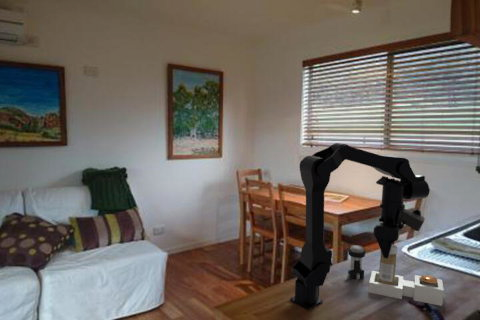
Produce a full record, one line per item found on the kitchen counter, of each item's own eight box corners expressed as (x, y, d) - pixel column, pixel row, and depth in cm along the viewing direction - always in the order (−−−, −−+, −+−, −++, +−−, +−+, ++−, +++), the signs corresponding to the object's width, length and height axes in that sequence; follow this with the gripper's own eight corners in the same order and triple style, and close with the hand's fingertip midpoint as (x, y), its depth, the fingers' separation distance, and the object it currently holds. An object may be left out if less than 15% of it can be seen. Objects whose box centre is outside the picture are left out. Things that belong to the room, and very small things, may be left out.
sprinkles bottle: (396, 289, 109) (400, 245, 107) (390, 294, 106) (393, 249, 104) (381, 283, 112) (385, 241, 110) (374, 288, 109) (377, 244, 107)
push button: (350, 283, 112) (351, 251, 111) (339, 276, 117) (341, 245, 116) (367, 280, 115) (369, 249, 113) (356, 273, 120) (358, 243, 118)
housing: (368, 292, 107) (369, 277, 106) (371, 279, 115) (372, 266, 114) (442, 307, 99) (444, 291, 99) (440, 293, 107) (441, 278, 107)
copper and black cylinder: (419, 298, 104) (421, 279, 103) (419, 292, 107) (421, 274, 106) (435, 301, 102) (437, 282, 101) (435, 295, 106) (436, 276, 105)
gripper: (421, 211, 93) (416, 270, 96) (426, 197, 110) (421, 248, 112) (375, 205, 99) (371, 261, 101) (386, 192, 115) (382, 241, 117)
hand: (388, 252), depth 108 cm, fingers open, 9 cm apart
